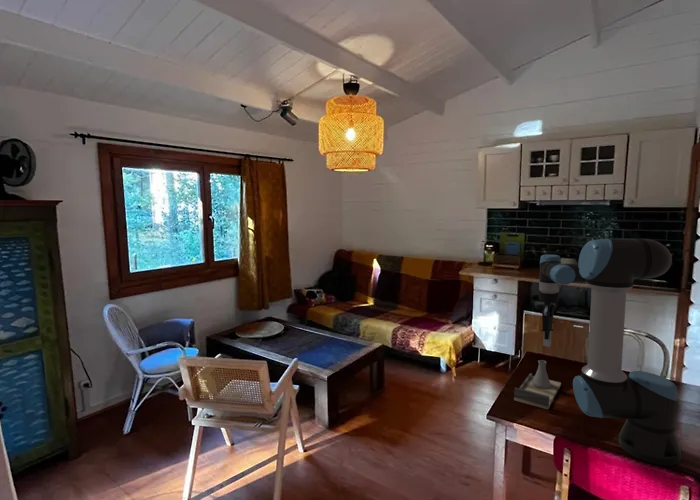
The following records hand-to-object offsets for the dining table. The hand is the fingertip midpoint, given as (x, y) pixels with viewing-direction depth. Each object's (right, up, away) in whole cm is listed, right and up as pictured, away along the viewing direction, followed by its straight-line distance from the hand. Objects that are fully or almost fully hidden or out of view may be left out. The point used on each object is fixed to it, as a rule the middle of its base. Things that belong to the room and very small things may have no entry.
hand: (546, 345), depth 167 cm
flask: (-5, -15, -6) cm, 17 cm away
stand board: (-8, -16, -10) cm, 21 cm away
